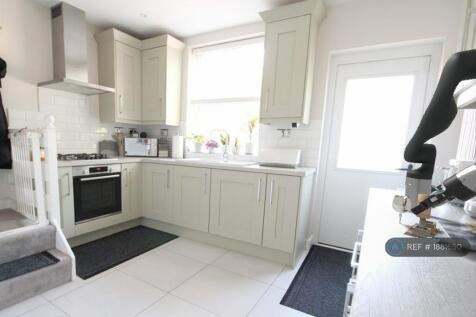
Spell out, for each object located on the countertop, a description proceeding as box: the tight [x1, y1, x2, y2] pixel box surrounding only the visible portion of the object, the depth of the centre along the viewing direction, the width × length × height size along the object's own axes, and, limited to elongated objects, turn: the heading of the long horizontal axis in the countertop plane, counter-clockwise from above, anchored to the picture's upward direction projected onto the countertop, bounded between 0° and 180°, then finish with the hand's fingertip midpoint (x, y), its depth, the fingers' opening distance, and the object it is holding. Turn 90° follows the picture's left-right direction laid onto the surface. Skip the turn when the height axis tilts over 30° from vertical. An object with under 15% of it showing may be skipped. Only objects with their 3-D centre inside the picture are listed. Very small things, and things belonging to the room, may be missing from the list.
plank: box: [403, 219, 441, 239], centre depth 77 cm, size 18×7×4 cm, turn 130°
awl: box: [415, 194, 432, 230], centre depth 73 cm, size 4×4×12 cm
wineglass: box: [391, 194, 411, 224], centre depth 85 cm, size 6×6×12 cm
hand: (416, 211), depth 75 cm, fingers closed on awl, 3 cm apart
